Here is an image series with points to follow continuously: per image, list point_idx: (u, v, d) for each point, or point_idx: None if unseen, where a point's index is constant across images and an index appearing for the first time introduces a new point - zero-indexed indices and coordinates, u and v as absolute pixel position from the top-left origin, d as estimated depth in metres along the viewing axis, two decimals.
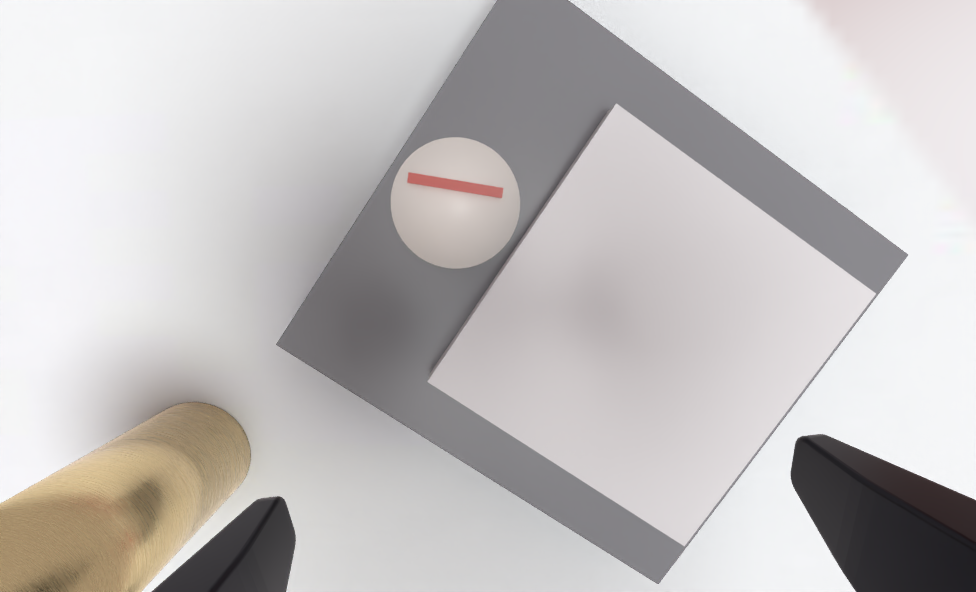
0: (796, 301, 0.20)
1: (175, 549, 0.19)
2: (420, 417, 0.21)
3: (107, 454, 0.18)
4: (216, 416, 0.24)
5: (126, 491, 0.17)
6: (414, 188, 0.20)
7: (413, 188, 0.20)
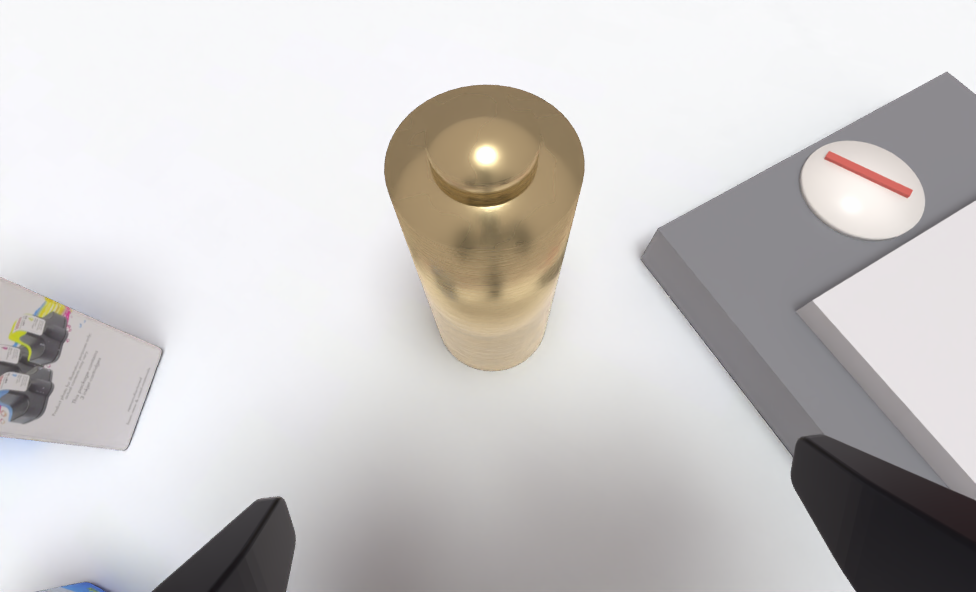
0: None
1: (535, 314, 0.18)
2: (773, 347, 0.20)
3: None
4: None
5: None
6: (829, 164, 0.23)
7: (828, 164, 0.23)
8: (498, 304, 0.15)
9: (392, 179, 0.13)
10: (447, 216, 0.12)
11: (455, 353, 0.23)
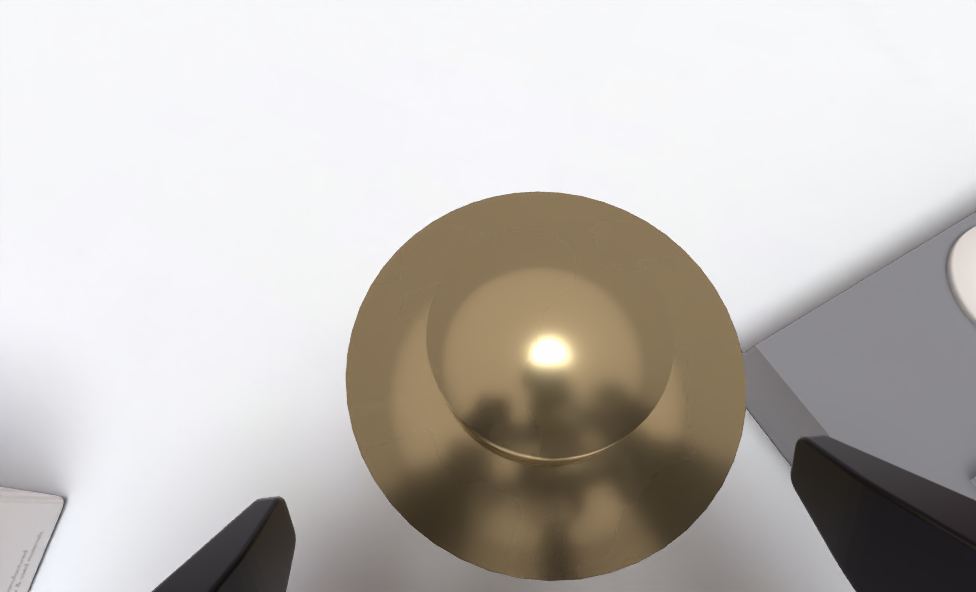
0: None
1: None
2: None
3: None
4: None
5: None
6: None
7: None
8: None
9: (361, 393, 0.06)
10: (472, 489, 0.06)
11: None
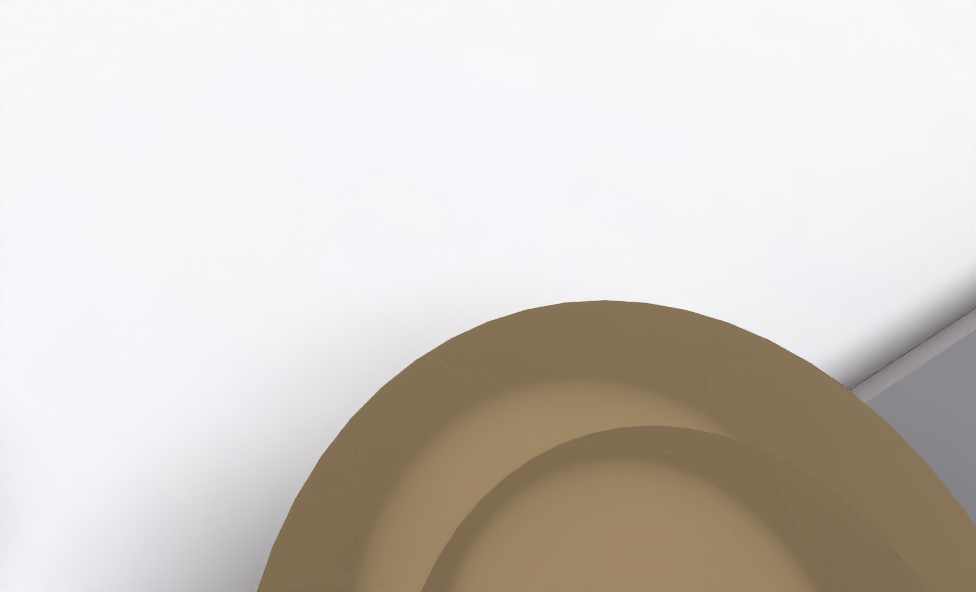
0: None
1: None
2: None
3: None
4: None
5: None
6: None
7: None
8: None
9: None
10: None
11: None
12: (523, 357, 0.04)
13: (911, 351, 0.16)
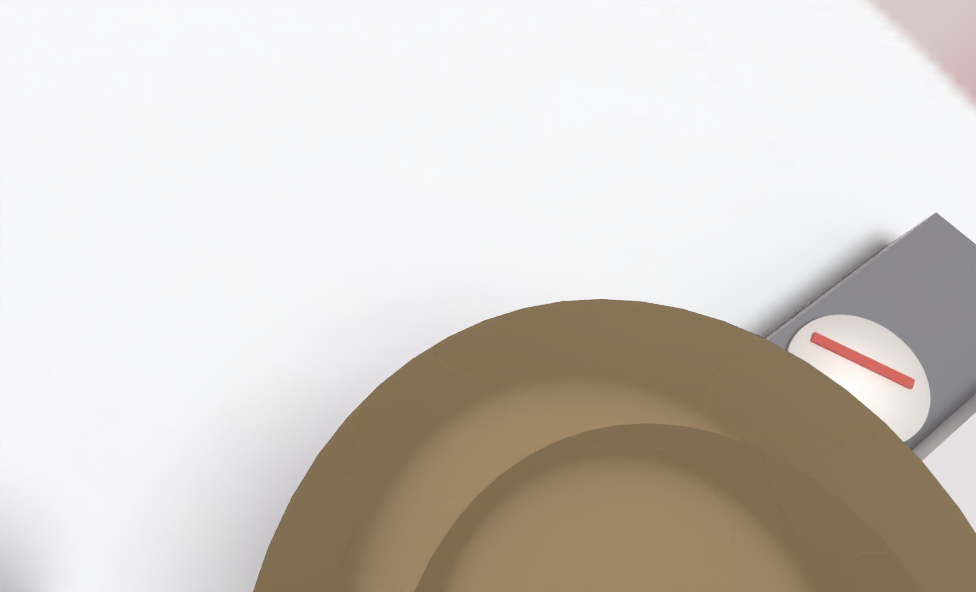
0: None
1: None
2: None
3: None
4: None
5: None
6: (816, 348, 0.20)
7: (815, 348, 0.20)
8: None
9: None
10: None
11: None
12: (519, 356, 0.04)
13: None
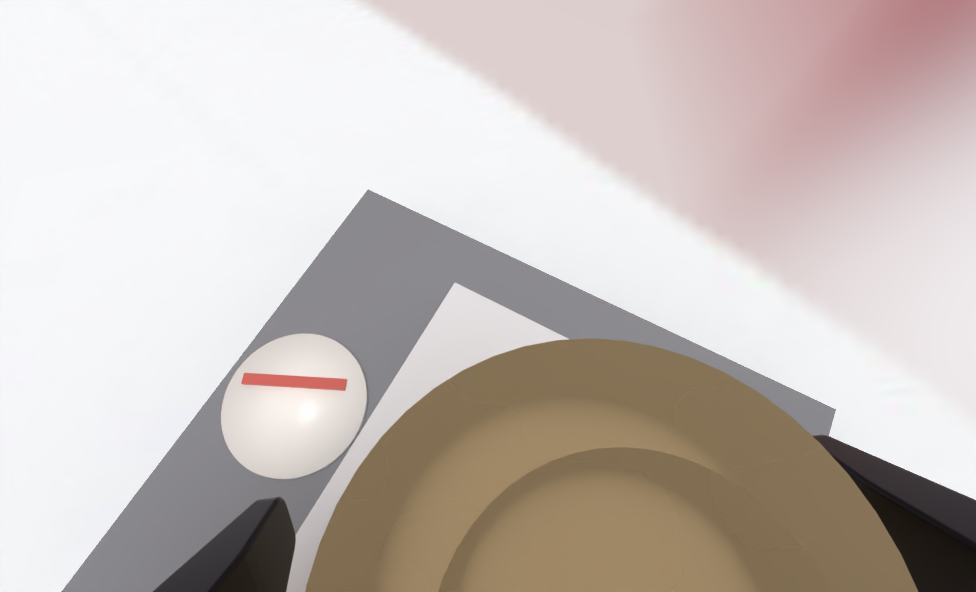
0: None
1: None
2: None
3: None
4: None
5: None
6: (249, 389, 0.18)
7: (249, 390, 0.18)
8: None
9: None
10: None
11: None
12: (522, 386, 0.05)
13: None
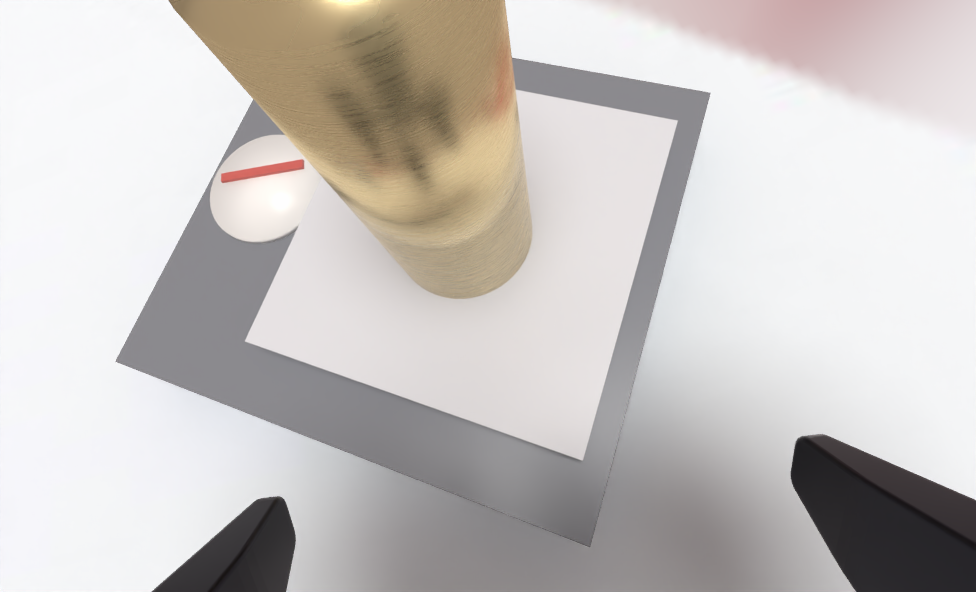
0: (597, 153, 0.19)
1: (495, 196, 0.12)
2: (258, 397, 0.19)
3: None
4: None
5: None
6: (228, 185, 0.22)
7: (228, 185, 0.22)
8: (422, 175, 0.10)
9: None
10: (262, 6, 0.07)
11: (420, 283, 0.17)
12: None
13: None
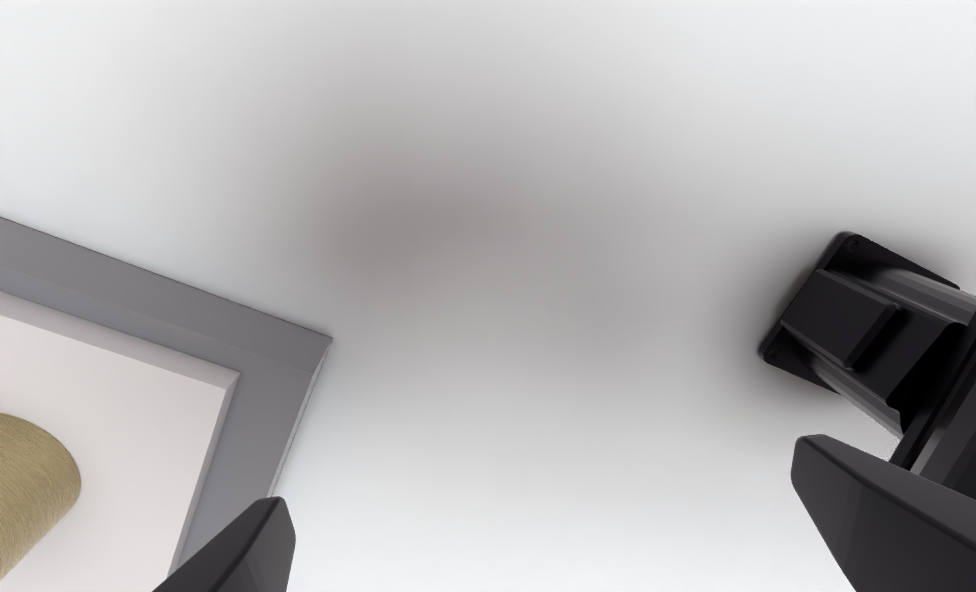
0: None
1: None
2: None
3: None
4: None
5: None
6: None
7: None
8: None
9: None
10: None
11: (56, 522, 0.18)
12: None
13: None
